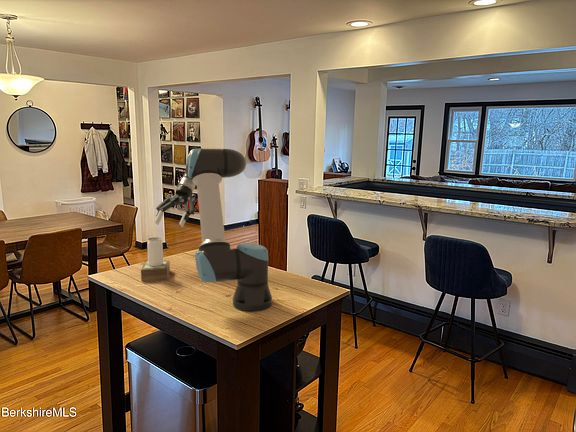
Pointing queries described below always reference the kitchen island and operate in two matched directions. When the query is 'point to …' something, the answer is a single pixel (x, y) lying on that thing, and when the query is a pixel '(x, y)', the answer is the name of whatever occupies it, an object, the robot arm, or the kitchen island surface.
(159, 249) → the can
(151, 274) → the plinth
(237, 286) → the robot arm
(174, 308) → the kitchen island surface
